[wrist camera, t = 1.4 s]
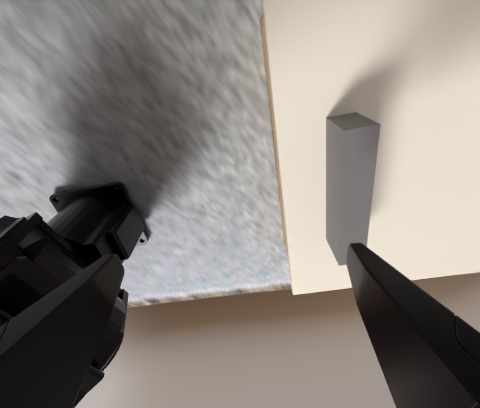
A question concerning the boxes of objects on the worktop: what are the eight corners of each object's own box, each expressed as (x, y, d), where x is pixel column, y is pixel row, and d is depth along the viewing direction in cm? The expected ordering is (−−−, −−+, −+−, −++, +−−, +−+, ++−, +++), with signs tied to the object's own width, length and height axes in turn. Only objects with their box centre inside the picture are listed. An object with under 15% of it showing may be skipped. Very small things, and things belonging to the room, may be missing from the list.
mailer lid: (291, 288, 20) (299, 324, 18) (262, -1, 11) (270, -18, 8) (483, 264, 19) (523, 298, 16) (640, -85, 10) (795, -138, 7)
